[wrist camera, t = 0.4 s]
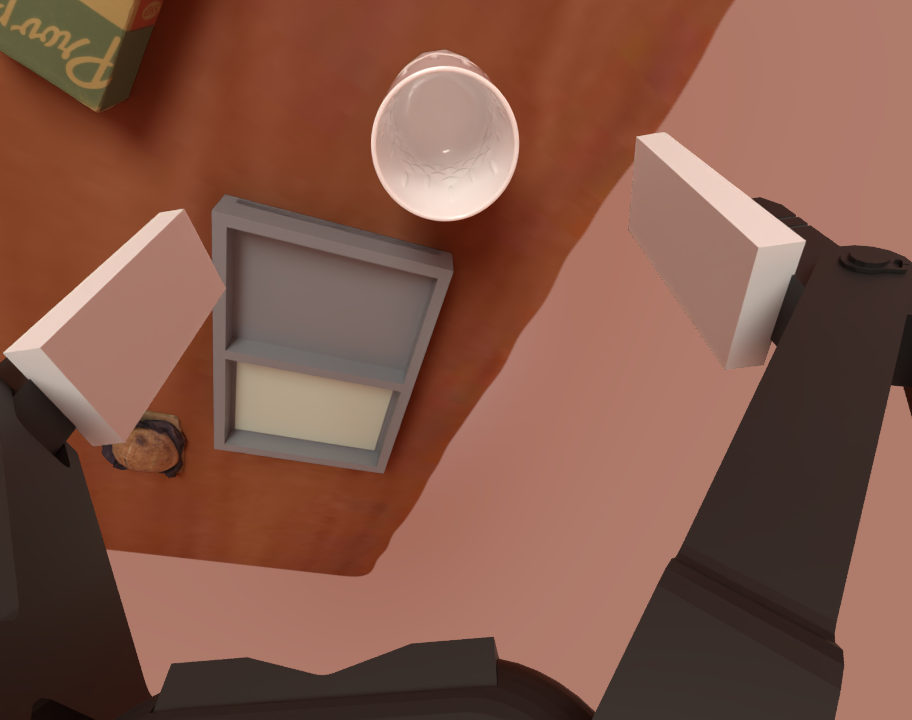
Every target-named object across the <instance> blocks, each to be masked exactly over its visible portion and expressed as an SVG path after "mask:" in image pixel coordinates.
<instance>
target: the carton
mask: <svg viewBox="0 0 912 720" xmlns="http://www.w3.org/2000/svg"><path fill="white" fill-rule="evenodd" d="M163 1H164V0H0V51H1V52H3V53H4V54H6V55H7V56H9V57H11V58H12V59H14V60H15V61H17V62H19V63H20V64H22V65H23V66H25V67H27V68H28V69H30V70H31V71H33V72H34V73H36V74H38V75H39V76H41V77H42V78H44V79H45V80H47V81H49V82H50V83H52V84H53V85H55V86H56V87H58V88H60V89H61V90H63V91H64V92H66V93H67V94H69V95H71V96H72V97H74V98H75V99H76V100H78V101H79V102H80V103H82V104H84V105H86V106H87V107H89V108H90V109H92V110H93V111H95V112H103V111H106V110H108V109H110V108H112V107H115V106H116V105H117V104H119V103H120V102H122V101H124V100H125V99H128V98H129V94H130V91H131V88H132V86H133V83H134V80H135V78H136V75H137V72H138V69H139V66H140V63H141V60H142V57H143V54H144V52H145V49H146V46H147V44H148V41H149V38H150V36H151V33H152V30H153V27H154V25H155V22H156V20H157V17H158V15H159V12H160V9H161V6H162V3H163Z"/></svg>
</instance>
